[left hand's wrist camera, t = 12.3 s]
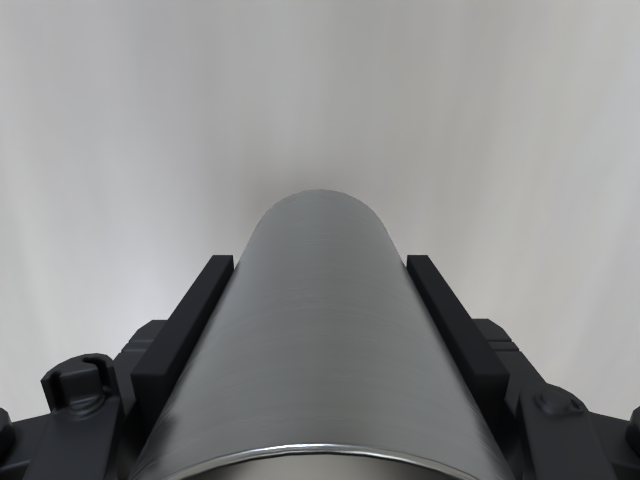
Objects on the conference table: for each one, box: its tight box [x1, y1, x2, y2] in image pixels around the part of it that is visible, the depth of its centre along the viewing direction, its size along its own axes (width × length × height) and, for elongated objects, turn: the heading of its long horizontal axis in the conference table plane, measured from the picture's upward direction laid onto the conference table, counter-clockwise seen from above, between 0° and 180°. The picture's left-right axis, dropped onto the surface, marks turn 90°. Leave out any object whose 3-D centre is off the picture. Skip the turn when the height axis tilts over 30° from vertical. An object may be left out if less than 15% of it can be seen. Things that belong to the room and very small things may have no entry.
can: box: [127, 190, 516, 480], centre depth 11 cm, size 7×7×13 cm
